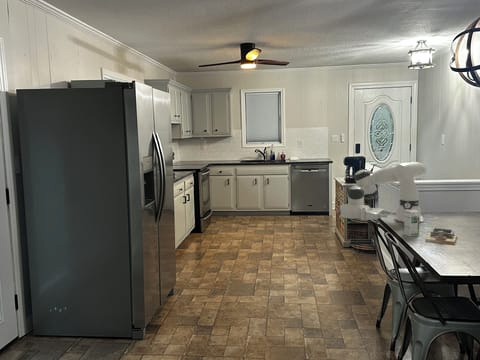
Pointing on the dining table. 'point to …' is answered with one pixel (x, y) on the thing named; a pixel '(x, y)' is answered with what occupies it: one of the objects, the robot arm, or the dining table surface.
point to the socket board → (449, 240)
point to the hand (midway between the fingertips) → (389, 214)
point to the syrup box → (411, 223)
